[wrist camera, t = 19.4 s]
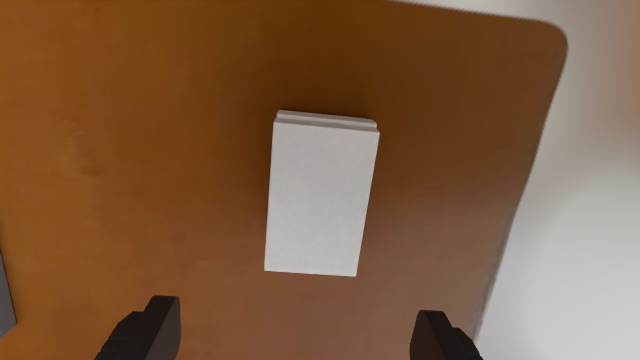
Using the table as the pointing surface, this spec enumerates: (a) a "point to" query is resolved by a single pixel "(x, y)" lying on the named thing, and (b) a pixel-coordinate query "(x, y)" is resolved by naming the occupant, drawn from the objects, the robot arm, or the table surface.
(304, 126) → the white book
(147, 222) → the table surface
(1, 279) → the grey books
